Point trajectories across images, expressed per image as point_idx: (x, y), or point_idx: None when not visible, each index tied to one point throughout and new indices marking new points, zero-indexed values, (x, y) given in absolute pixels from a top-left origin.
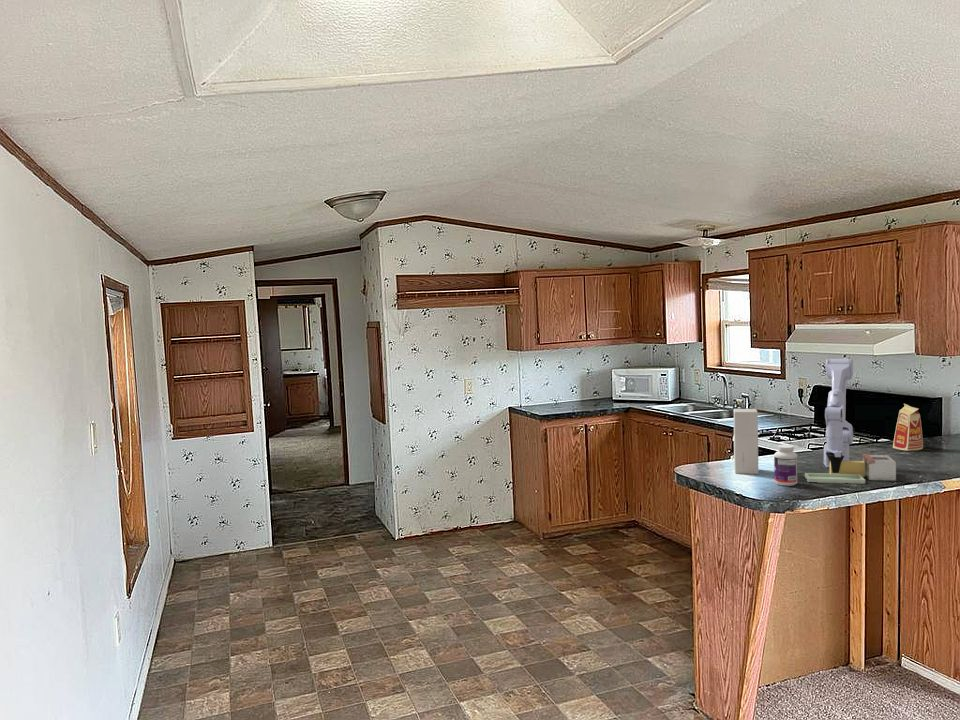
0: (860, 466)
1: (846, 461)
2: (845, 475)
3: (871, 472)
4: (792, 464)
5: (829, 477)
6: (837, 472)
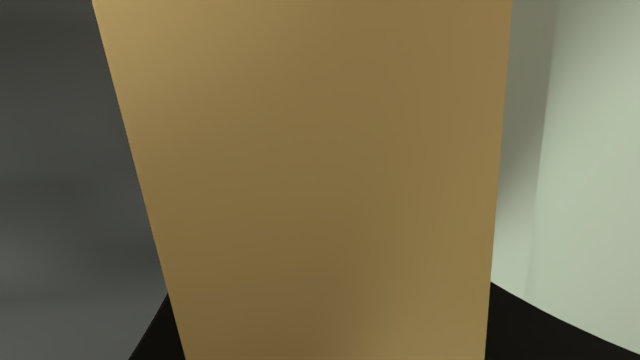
0: None
1: (293, 186)
2: (532, 95)
3: None
4: None
5: None
6: None
